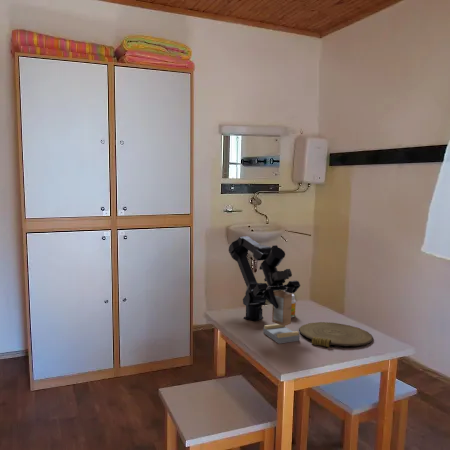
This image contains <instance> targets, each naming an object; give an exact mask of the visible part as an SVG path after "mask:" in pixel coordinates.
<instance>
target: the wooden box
mask: <svg viewBox="0 0 450 450" xmlns="http://www.w3.org/2000/svg"><path fill="white" fill-rule="evenodd" d="M292 294H293V293H288V292H284V291H283V290H276V291H274V296H275V299H276V301H277V304H278V309H276V308H275V307H274V306H273V305H272V317H271V319H272V320H271V322H272V323H273V324H280V325H282V326H285V327H287V326H288V325H291V322H292V317H291V305H292Z"/></svg>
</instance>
